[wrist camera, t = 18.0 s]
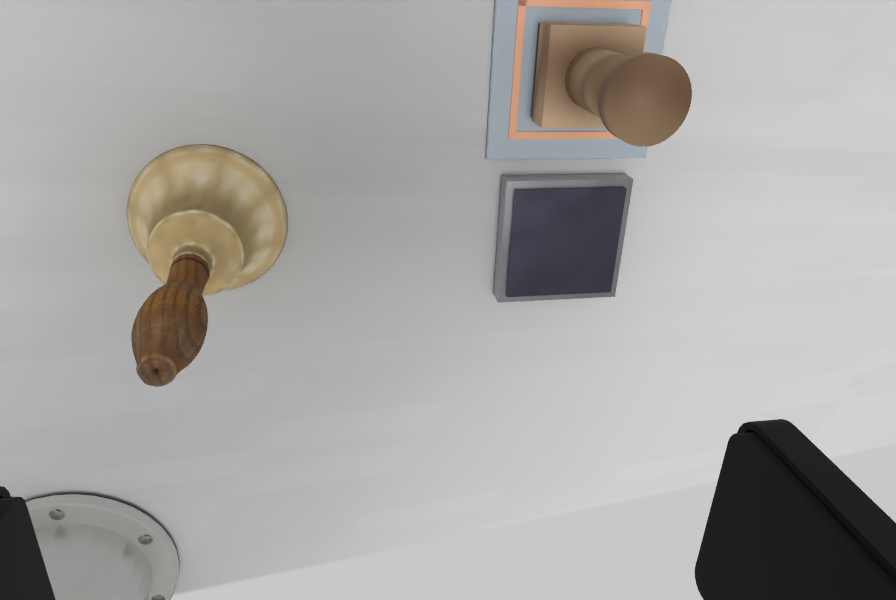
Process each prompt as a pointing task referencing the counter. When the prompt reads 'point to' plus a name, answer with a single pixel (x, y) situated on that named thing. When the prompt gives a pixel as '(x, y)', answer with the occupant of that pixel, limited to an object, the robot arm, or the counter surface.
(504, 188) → the ink pad
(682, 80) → the stamp
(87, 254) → the counter surface
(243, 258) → the hand bell
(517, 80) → the card
